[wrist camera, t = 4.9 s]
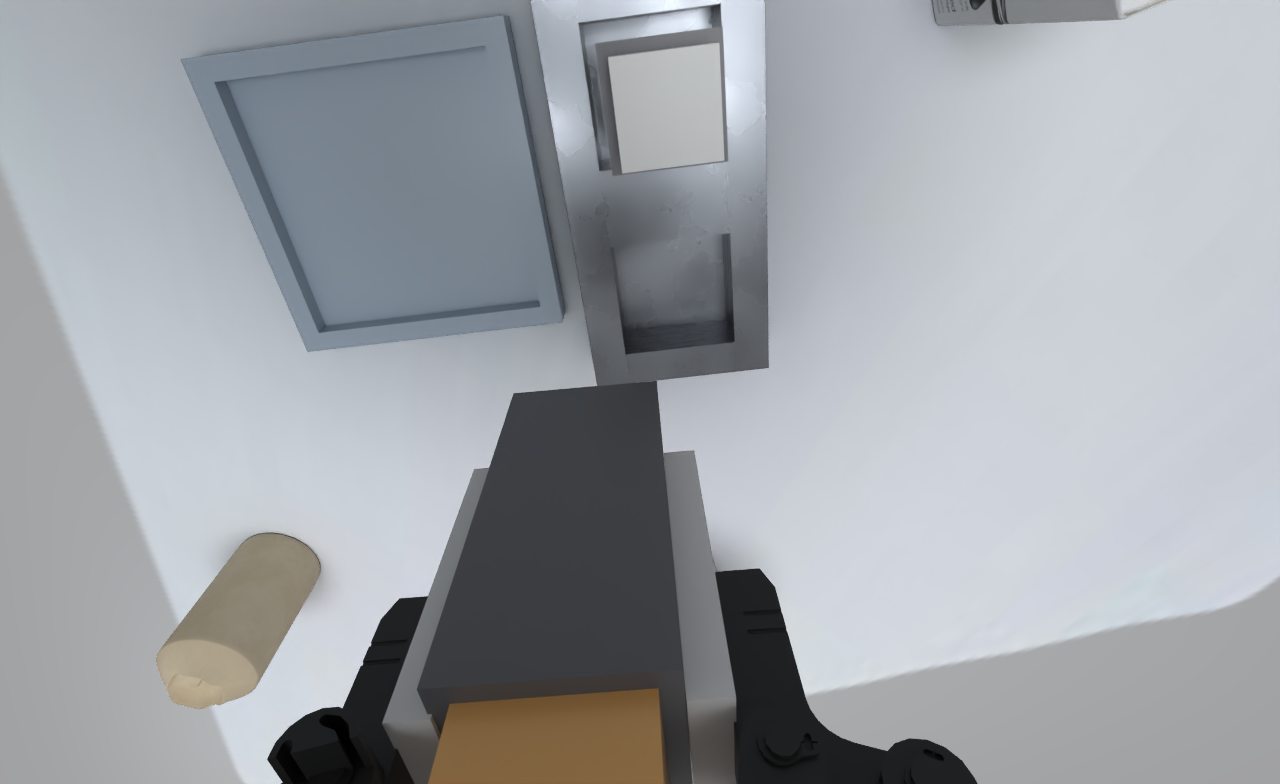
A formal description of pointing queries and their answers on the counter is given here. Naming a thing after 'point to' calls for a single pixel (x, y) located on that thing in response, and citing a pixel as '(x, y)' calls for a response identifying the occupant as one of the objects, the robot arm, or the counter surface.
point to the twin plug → (664, 100)
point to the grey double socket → (663, 200)
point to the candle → (238, 622)
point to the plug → (565, 605)
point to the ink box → (1036, 11)
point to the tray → (389, 180)
